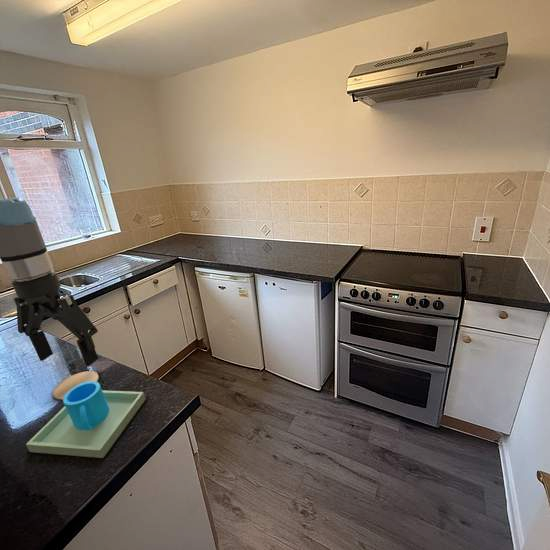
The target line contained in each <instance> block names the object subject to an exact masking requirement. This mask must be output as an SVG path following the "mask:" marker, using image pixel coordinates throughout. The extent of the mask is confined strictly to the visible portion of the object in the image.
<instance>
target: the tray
mask: <svg viewBox="0 0 550 550" xmlns="http://www.w3.org/2000/svg"><path fill="white" fill-rule="evenodd" d="M102 392H103V394H104V397H105V399H106V402H107V404H108V407H109V414H108V415H107V417H106V418H105V419H104V420H103V421H102V422H101V423H99V424H98V425H96V426H94V427H93V428H92V429H91V430H89V431H86V430H78V429H76V428H75V427H74V424H73V422H72V420H71V418H70V416H69V413H68V411H67V409H66V407H65V405H64V406H63V407H62V408H61V409H60V410H59V411H58V412H57V413H56V414H55V415H53V417H52V418H51V419H50V420H49V421H48V422H47V423H46V424H45V425H44V426H42V428H41V429H40V430H39V431H38V432H36V433H35V434H34V436H33V437H31V438H30V439H29V441H27V443H26V444H25V446H26V448H27V450H28V451H29V453H37V454H50V455H59V456H60V455H61V456H74V457H85V458H98V459H104V458H105V456H106V455H107V454H108V453H109V452H110V450H111V448H112V447H113V445H114V444H115V443H116V441H118V439H119V437H120V436H121V435H122V433H123V432H124V430H125V429H126V427H127V426H128V425H129V423H130V422H131V420H132V419H133V418H134V416H135V415H136V413H138V411H139V410H140V408H141V406H142V405H143V404H144V403H145V402H146V400H147V398H146V395H145V392H144V391H127V390H125V391H124V390H105V389H104V390H103V389H102Z"/></svg>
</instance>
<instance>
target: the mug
mask: <svg viewBox="0 0 550 550" xmlns="http://www.w3.org/2000/svg"><path fill="white" fill-rule="evenodd" d="M102 390H103V389H102V387H101V384H100V383H99V382H98V381H97V382H96V381H88V382H85V383H82V384H79V385H77V386H75V387H74V388H72V389H71V390H70V391H68V392H67V393H66V395H65V396H64V398H63V400H62V403H63V405H64V406H65V407H66V409H67V411H68V413H69V416H70V418H71V420H72V422H73V424H74V427H75V428H76V429H78V430H86V431H89V430H91V429H92V428H93V427H94V426H96V425H98V424H99V423H101V422H102V421H103V420H104V419H105V418H106V417H107V415H108V414H109V407H108V404H107V402H106V399H105V397H104V394H103V392H102Z"/></svg>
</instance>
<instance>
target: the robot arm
mask: <svg viewBox="0 0 550 550" xmlns="http://www.w3.org/2000/svg"><path fill="white" fill-rule="evenodd" d="M0 261H1V263H2V265H3V267H4V269H5V272H6V275H7V277H8V278H9V280H11V281H12V282H11V285H12V287H13V290H14V292H15V294H16V297H14V298H13V301H14V304H15V306H16V320H17V321H16V323H17V331H18V333H19V334H23V333H24V335H25V336H26V337H28V338H29V340H30V342H31V344H32V346H33V348H34V350H35V353H36V354H37V357H38V359H39V361H41V362H44V361H45V360H46V359H48V358H50V357H51V356H52V355H54V352H53V350H52V348H51V346H50V343H49V341H48V338H47V336H46V334H45V331H44V330H42V329H43V328H42V323H43V319H44V317H48V318H51V319H52V320H54V321H58V322H59V323H60V324H62V325H63V327H64V328H66V329H67V330H68V331H69V332H70V333H71V334H73V336H75V337H76V338H77V340H76V343H77V346H78V348H79V351H80V354H81V357H82V359H83V361H84V364H85V366H86V367H90V366H91V365H92V364H94V363H95V362H96V361H97V360H98V359H99V357H98V354H97V351H96V349H95V348H96V345H95V342H94V340H93V336H94V335H96V334H97V333H98V332H99V330H98V328H97V327H96V326H95V325H94V323H93V322H92V320H90V318H89V317H88V315H86V314H85V312H84V311H83V310H82V308H81V307H80V306H79V305H78V303H77V302H76V300H75V297H74V296H73V295H72V294H71V293H69V294H66V295H65V296H61V294H60V293H59V289H60V288H61V285H62V284H61V282H60V279H59V276H58V274H57V271H54V264H53V262H52V259H51V257H50V255H49V252H48V249H47V245H46V243H45V239H44V237H43V235H42V232H41V230H40V227H39V224H38V221H37V217H36V216H35V214H34V212H33V210H32V208H31V206H30V203H29V202H28V200H27V199H25V198H23V197H8V198H0Z"/></svg>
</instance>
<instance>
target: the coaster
mask: <svg viewBox="0 0 550 550" xmlns="http://www.w3.org/2000/svg"><path fill="white" fill-rule="evenodd" d="M99 379H100V377H99V374H98V372H97V371H92V370H87V371H81V372H78V373H76V374H72V375H70V376H69V377H67V378H65V379H64V380H62V381H61V382H60V383H58V384H57V386H55V388H54V389H53V392H52V396H53V398H54V399H56V400H57V401H63V398H64V396H65V395H66V393H67V392H68V391H70V390H71V389H72V388H74V387H75V386H77V385H79V384H82V383H85V382H88V381H96V382H98V381H99Z"/></svg>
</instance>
